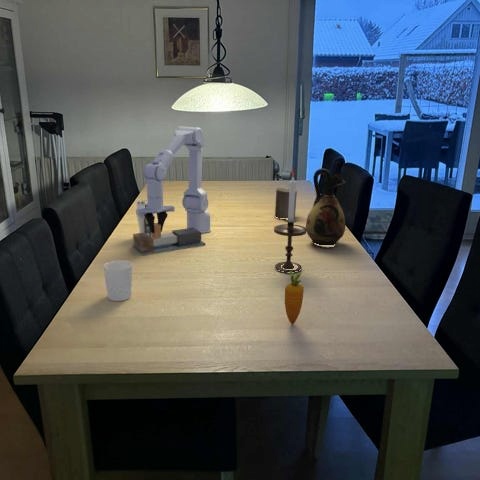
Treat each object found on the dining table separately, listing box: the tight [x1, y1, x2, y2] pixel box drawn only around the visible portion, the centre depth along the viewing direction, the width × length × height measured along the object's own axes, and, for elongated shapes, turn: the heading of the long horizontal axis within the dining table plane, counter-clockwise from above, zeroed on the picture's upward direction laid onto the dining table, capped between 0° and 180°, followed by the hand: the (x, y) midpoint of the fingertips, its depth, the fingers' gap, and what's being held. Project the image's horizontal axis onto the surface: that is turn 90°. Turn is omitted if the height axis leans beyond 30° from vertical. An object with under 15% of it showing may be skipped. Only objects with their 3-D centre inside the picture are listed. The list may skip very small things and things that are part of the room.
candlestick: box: [273, 168, 307, 272], centre depth 168 cm, size 11×11×35 cm
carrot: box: [284, 271, 305, 325], centre depth 131 cm, size 5×5×15 cm
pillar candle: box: [274, 186, 298, 218], centre depth 236 cm, size 10×10×15 cm
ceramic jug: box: [305, 167, 346, 245], centre depth 196 cm, size 17×15×30 cm
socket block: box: [132, 233, 154, 252], centre depth 188 cm, size 4×9×5 cm, turn 31°
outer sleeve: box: [131, 227, 206, 256], centre depth 193 cm, size 26×11×5 cm, turn 121°
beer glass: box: [136, 200, 155, 236], centre depth 200 cm, size 7×7×15 cm
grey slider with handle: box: [150, 222, 179, 246], centre depth 191 cm, size 16×4×8 cm, turn 121°
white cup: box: [103, 259, 133, 302], centre depth 146 cm, size 8×8×10 cm
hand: (156, 231), depth 190 cm, fingers closed on grey slider with handle, 2 cm apart
